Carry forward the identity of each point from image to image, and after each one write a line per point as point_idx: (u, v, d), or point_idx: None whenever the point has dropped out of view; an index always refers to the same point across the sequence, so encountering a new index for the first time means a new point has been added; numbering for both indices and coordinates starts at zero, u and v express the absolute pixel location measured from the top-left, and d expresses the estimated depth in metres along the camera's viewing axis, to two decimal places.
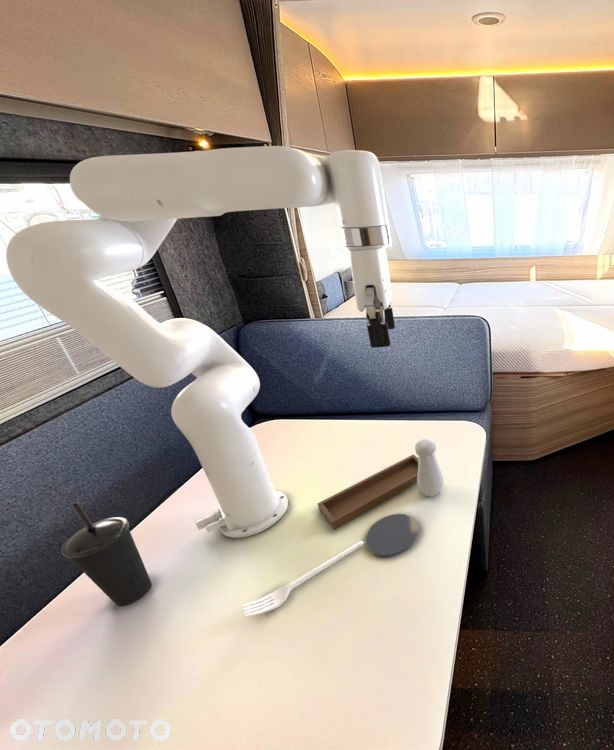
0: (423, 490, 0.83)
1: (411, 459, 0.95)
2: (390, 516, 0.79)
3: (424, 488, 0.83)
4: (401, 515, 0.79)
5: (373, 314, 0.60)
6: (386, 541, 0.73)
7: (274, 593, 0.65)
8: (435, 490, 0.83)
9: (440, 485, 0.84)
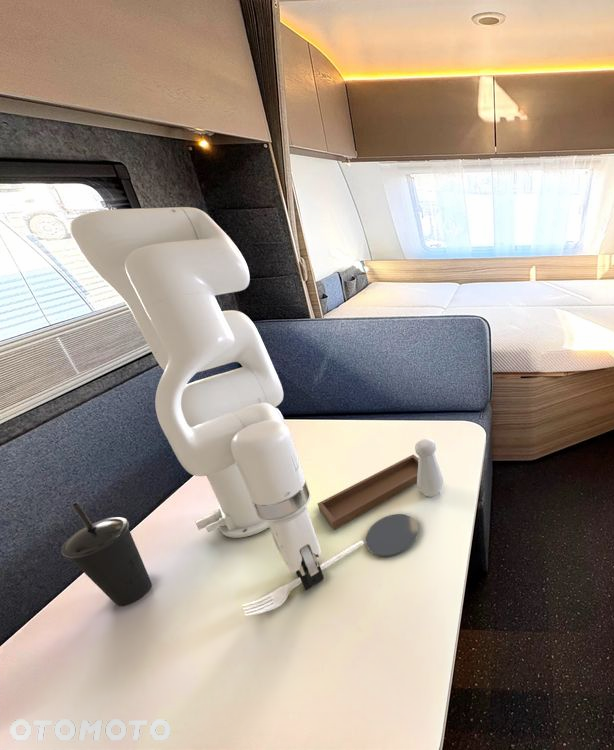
0: (423, 490, 0.83)
1: (411, 459, 0.95)
2: (390, 516, 0.79)
3: (424, 488, 0.83)
4: (401, 515, 0.79)
5: None
6: (386, 541, 0.73)
7: (274, 593, 0.65)
8: (435, 490, 0.83)
9: (440, 485, 0.84)
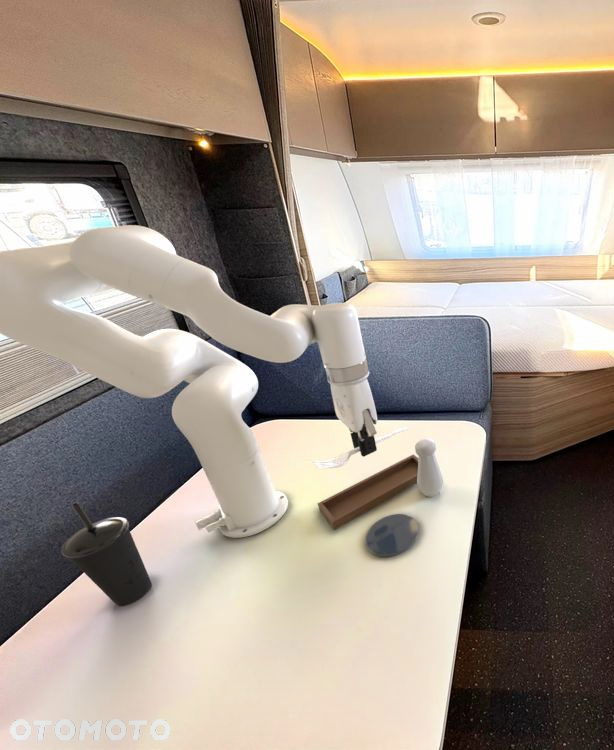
0: (423, 490, 0.83)
1: (411, 459, 0.95)
2: (390, 516, 0.79)
3: (424, 488, 0.83)
4: (401, 515, 0.79)
5: None
6: (386, 541, 0.73)
7: (337, 457, 0.78)
8: (435, 490, 0.83)
9: (440, 485, 0.84)
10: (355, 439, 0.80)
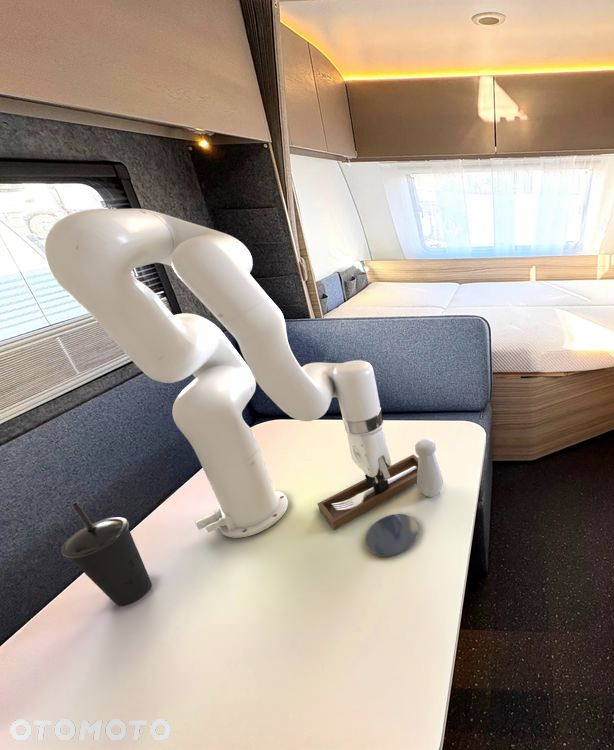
0: (423, 490, 0.83)
1: (411, 459, 0.95)
2: (390, 516, 0.79)
3: (424, 488, 0.83)
4: (401, 515, 0.79)
5: None
6: (386, 541, 0.73)
7: (353, 498, 0.84)
8: (435, 490, 0.83)
9: (440, 485, 0.84)
10: (369, 480, 0.86)
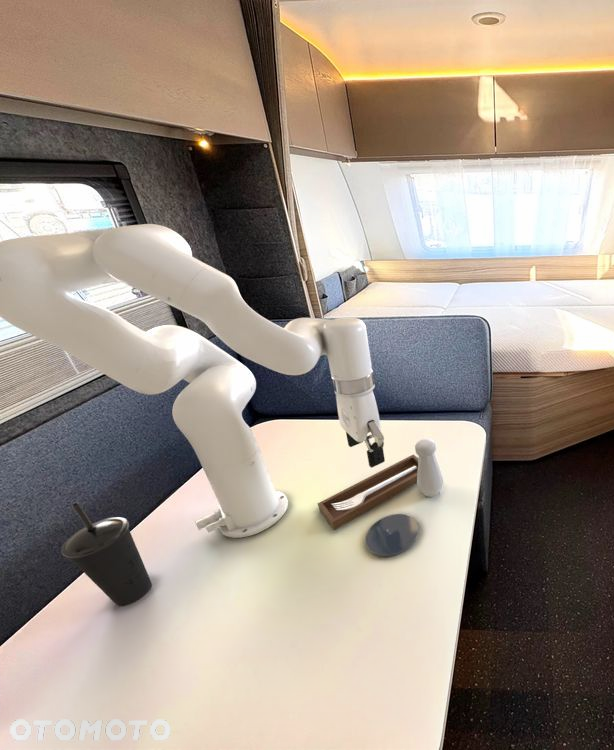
0: (423, 490, 0.83)
1: (411, 459, 0.95)
2: (390, 516, 0.79)
3: (424, 488, 0.83)
4: (401, 515, 0.79)
5: (381, 443, 0.74)
6: (386, 541, 0.73)
7: (353, 498, 0.84)
8: (435, 490, 0.83)
9: (440, 485, 0.84)
10: (350, 437, 0.83)
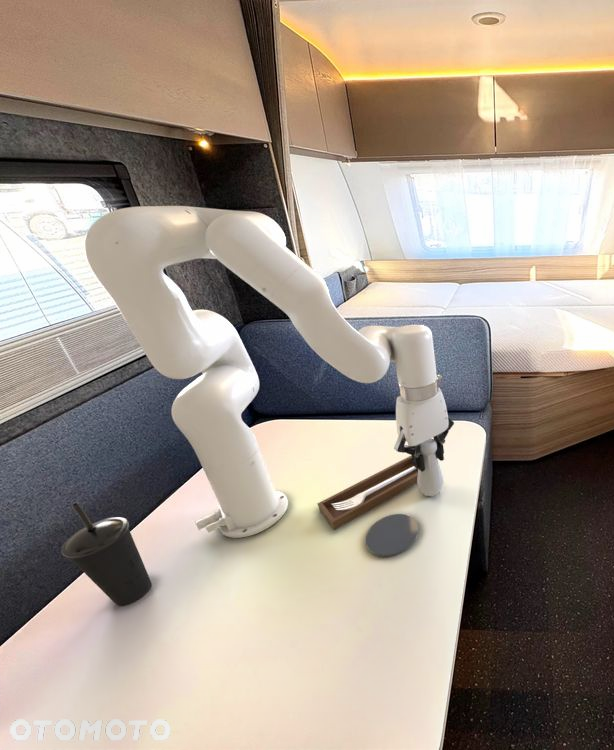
0: (423, 489, 0.83)
1: (411, 459, 0.95)
2: (390, 516, 0.79)
3: (424, 487, 0.83)
4: (401, 515, 0.79)
5: None
6: (386, 541, 0.73)
7: (353, 498, 0.84)
8: (435, 489, 0.83)
9: (440, 485, 0.84)
10: None
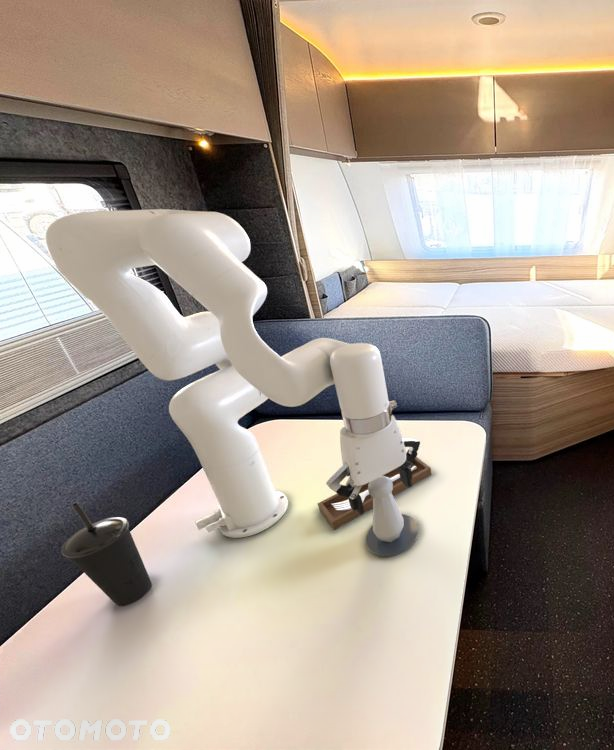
0: (379, 535, 0.72)
1: None
2: None
3: (379, 533, 0.71)
4: None
5: None
6: None
7: None
8: (393, 535, 0.72)
9: (399, 529, 0.73)
10: (399, 471, 0.74)
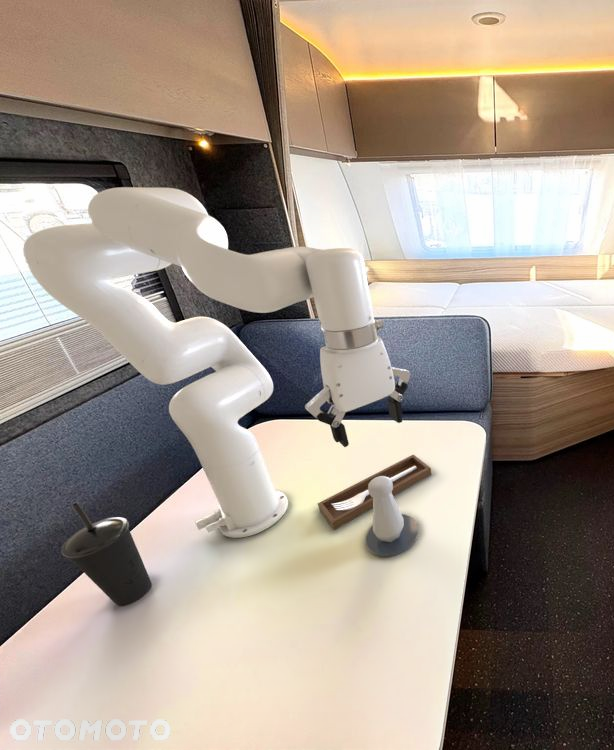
0: (379, 535, 0.72)
1: (411, 459, 0.95)
2: None
3: (379, 533, 0.71)
4: None
5: (314, 416, 0.57)
6: None
7: (353, 498, 0.84)
8: (393, 535, 0.72)
9: (399, 529, 0.73)
10: (388, 406, 0.67)
